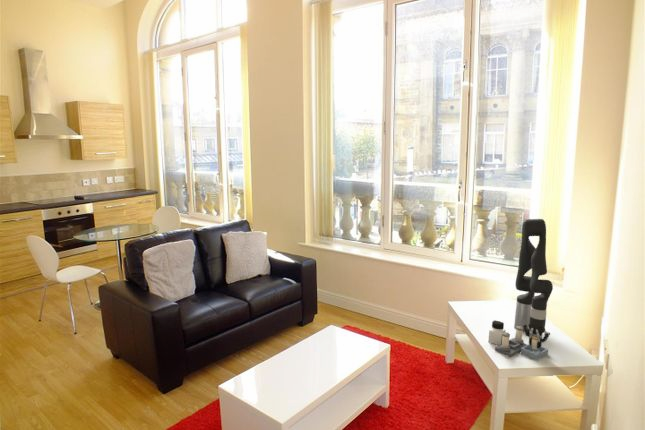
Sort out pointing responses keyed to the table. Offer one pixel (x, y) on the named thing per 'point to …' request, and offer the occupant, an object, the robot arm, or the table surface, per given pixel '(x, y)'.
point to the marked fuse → (534, 343)
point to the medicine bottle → (496, 332)
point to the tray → (532, 354)
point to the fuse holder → (511, 343)
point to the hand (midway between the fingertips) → (534, 346)
